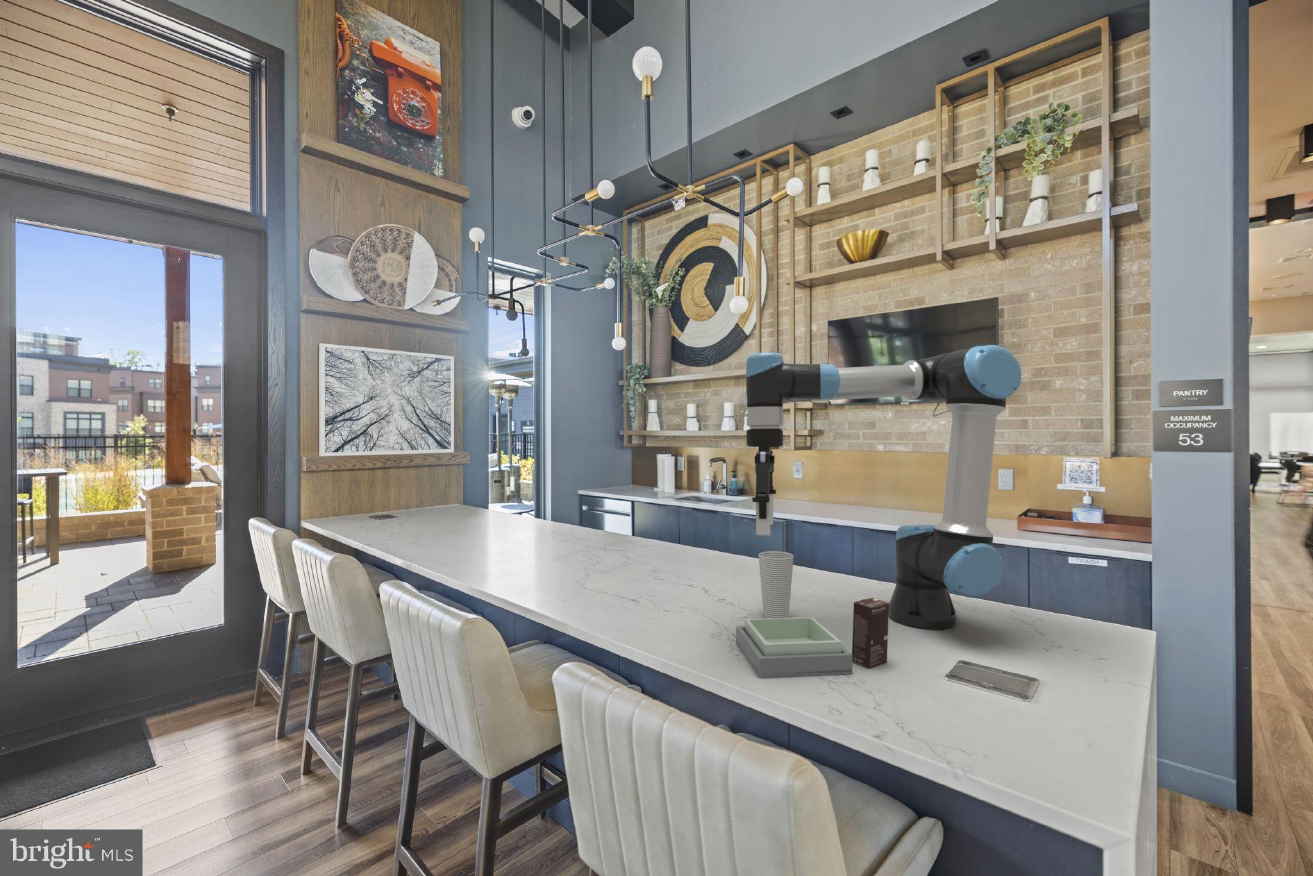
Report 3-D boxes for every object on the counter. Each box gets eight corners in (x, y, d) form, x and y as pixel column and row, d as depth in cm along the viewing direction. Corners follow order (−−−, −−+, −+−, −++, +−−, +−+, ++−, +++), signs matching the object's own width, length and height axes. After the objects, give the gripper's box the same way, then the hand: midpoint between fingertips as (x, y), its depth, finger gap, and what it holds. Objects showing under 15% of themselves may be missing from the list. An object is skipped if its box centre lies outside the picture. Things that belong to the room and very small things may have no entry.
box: (870, 669, 111) (870, 607, 111) (851, 661, 115) (851, 601, 115) (889, 662, 115) (890, 602, 114) (870, 655, 118) (870, 596, 118)
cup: (798, 615, 144) (798, 553, 144) (786, 625, 137) (786, 559, 136) (766, 610, 148) (766, 549, 148) (752, 619, 141) (753, 555, 141)
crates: (816, 639, 127) (816, 614, 127) (852, 673, 109) (852, 644, 109) (735, 642, 125) (736, 617, 125) (759, 678, 107) (759, 647, 107)
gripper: (751, 428, 134) (751, 519, 134) (740, 427, 110) (741, 539, 110) (784, 427, 132) (785, 520, 132) (781, 427, 108) (781, 541, 108)
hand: (765, 529), depth 121 cm, fingers open, 13 cm apart
